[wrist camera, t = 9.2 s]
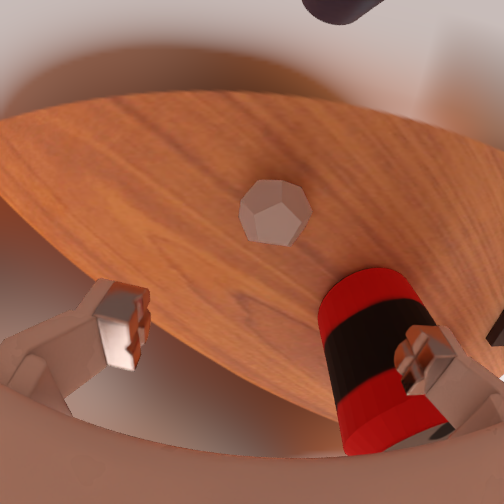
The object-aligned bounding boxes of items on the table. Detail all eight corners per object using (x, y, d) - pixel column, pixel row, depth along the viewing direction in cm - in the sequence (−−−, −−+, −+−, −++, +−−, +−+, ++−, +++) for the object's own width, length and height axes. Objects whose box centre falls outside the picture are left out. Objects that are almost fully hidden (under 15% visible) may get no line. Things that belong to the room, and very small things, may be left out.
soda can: (426, 280, 20) (506, 403, 9) (377, 349, 23) (418, 471, 13) (346, 251, 19) (418, 409, 8) (300, 333, 22) (319, 481, 12)
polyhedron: (228, 216, 18) (222, 240, 15) (257, 160, 16) (257, 173, 13) (286, 243, 19) (292, 271, 16) (318, 192, 17) (331, 211, 14)
